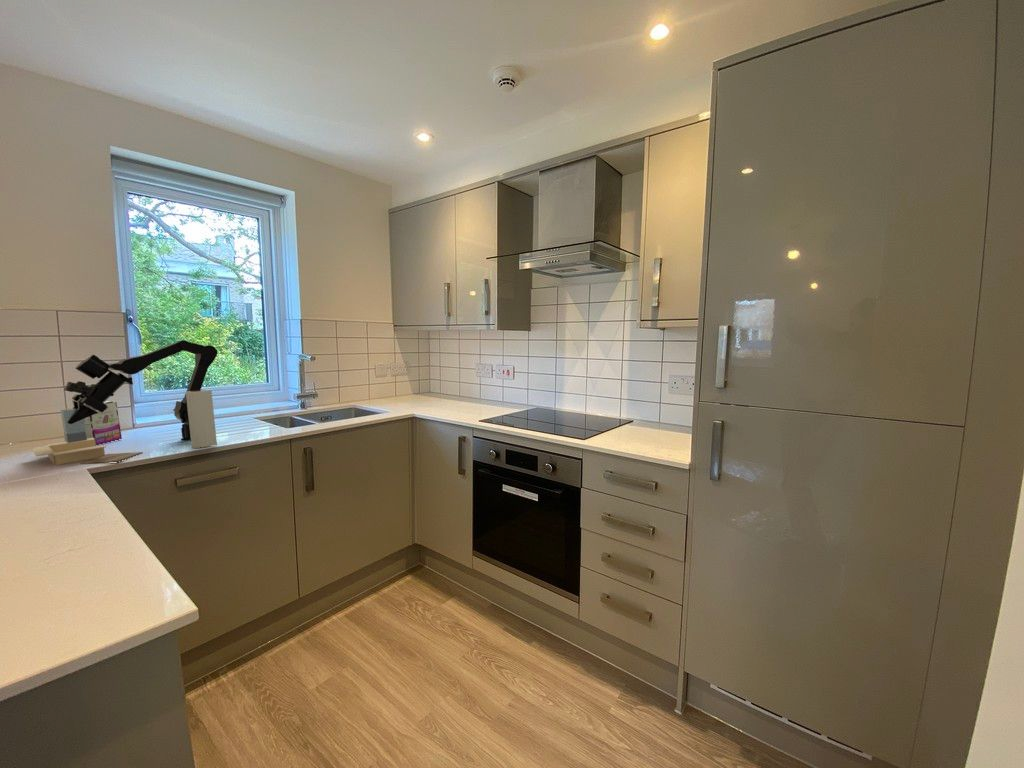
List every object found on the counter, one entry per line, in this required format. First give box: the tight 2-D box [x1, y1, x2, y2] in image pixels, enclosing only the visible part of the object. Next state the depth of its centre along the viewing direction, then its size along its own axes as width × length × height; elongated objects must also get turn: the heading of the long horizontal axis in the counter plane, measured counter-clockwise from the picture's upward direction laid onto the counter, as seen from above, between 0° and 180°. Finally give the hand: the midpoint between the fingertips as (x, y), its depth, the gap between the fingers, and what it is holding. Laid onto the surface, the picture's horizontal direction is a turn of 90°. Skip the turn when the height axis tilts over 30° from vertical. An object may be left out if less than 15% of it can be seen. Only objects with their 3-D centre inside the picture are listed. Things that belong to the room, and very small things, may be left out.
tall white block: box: [185, 389, 218, 449], centre depth 157 cm, size 7×6×21 cm
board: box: [80, 451, 143, 465], centre depth 143 cm, size 11×11×1 cm
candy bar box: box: [84, 400, 123, 446], centre depth 166 cm, size 11×5×16 cm, turn 179°
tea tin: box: [60, 407, 87, 443], centre depth 144 cm, size 5×5×11 cm
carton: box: [31, 438, 106, 466], centre depth 147 cm, size 22×23×4 cm
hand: (67, 422), depth 143 cm, fingers closed on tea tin, 4 cm apart
